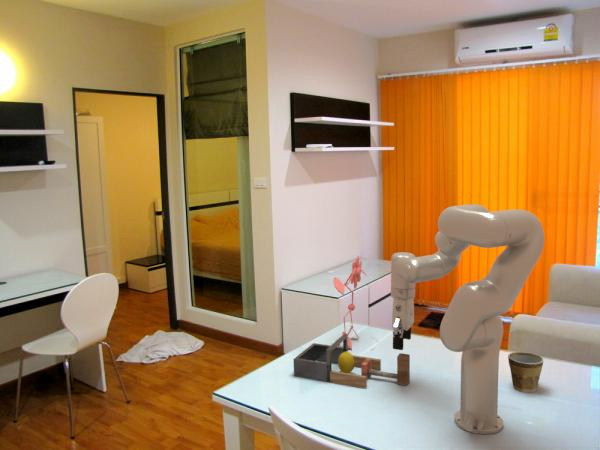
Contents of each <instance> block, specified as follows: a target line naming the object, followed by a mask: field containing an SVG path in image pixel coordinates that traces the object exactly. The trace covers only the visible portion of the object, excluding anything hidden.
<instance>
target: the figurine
mask: <svg viewBox="0 0 600 450" xmlns="http://www.w3.org/2000/svg"><path fill="white" fill-rule="evenodd" d="M362 264H363V263H362V260H360V256H359V255H356V258H355V260H353V262H352V263H351V265H352V266H351V267H352V270H351V273H350V275H349V276H348V277H347V279H346V281H345V283H343V282H342V281H341V280H340V278H337V277H336V276H335V277H333V285H334V288H335V289H336V290H337V292H338V293H340V294H341V295H343V296H344V295H345V287H346V288H347V289H348V290H349V291H350V292H351V303H350V304H348V307H347V308H348V310H349V311H348V312H346V314H345V315H344V316H343V327H344V331H343V332H342V335H343V334H347V337H348V348H349V349H350V350H352V348H353V347H352V345H353V344H352V340H351V339H350V336H349V335H350V333H351V331H352V332H354V334H355V335H356V337H357V339H360V337H359V336H358V334H357V333H356V331H355V330H354V325H353V319H352V318H353V317H352V311H354V310H355V309H356V305H355V304H354V292H353V290H352V289H351V288H350V287H349V286H348V284H351V285H353V288H354V289H355V290H356V288H357V287H358V283H360V282H361V279H362V278H361V277H362V276H361V274H362V273H363V274H364V276H368V275H367V274H366V273H365V271H363V269H362ZM349 314H350V315H349ZM347 315H349V316H350V322H351V323H350V324H351V325H350V329H349V330H348V332H346V320H345V317H347ZM342 335H341V336H342ZM372 339H374V340H375V338H373V337H372ZM376 342H379V341H378V340H376ZM341 344H342V342H341V343H340V344H339V345H338V346H337V347H341V346H340V345H341ZM372 350H374V348H372V349H371V351H372Z"/></svg>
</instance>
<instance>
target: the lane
mask: <svg viewBox="0 0 600 450" xmlns="http://www.w3.org/2000/svg"><path fill="white" fill-rule="evenodd" d="M352 356H353V357H354V362H355V365H354V368H360V369H361V364H362V363H363V362H364V361H365V360H366V358H369V359H371V370H375V371H381V369H382V364H381V363H382V359H380V358H374V357H369V356H368V357H367V356H360V355H355V354H352ZM329 383H332V384H336V385H343V386H349V387H353V388H354V387H355V388H360V389H367V388H368V385H367V384H368V379H367V376H362V375H361V374H356V373H351V372H350V373H344V372H342V371H336V370H332V371H331V372H330V382H329Z"/></svg>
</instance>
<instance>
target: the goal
mask: <svg viewBox="0 0 600 450" xmlns="http://www.w3.org/2000/svg"><path fill="white" fill-rule="evenodd" d="M347 334H348V333H346V334H343V335H341V336H340V337H339V338H338V339H336V340H335V341H334V342H333V343H332V344H331V345H328V344H323V343H322V344H321V343H311V344H310V345H309V346H308V347H307V348H306V349H304V350H303V351H301V352H300V353H299V354H298V355H297V356H296V357H294V358H293V377H297V378H303V379H307V380H314V381H319V382H325V383H330V372H331V371H333V370H332V364H335V365H338V359H339V356H340V355H341V354H342V353H343V352H345V351H347V352H349V351H348V350H349V349H348V348H349V347H348V337H347ZM340 343H341V344H342V343H343V344H342V346H339V347H338V345H339V344H340ZM341 344H340V345H341Z"/></svg>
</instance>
